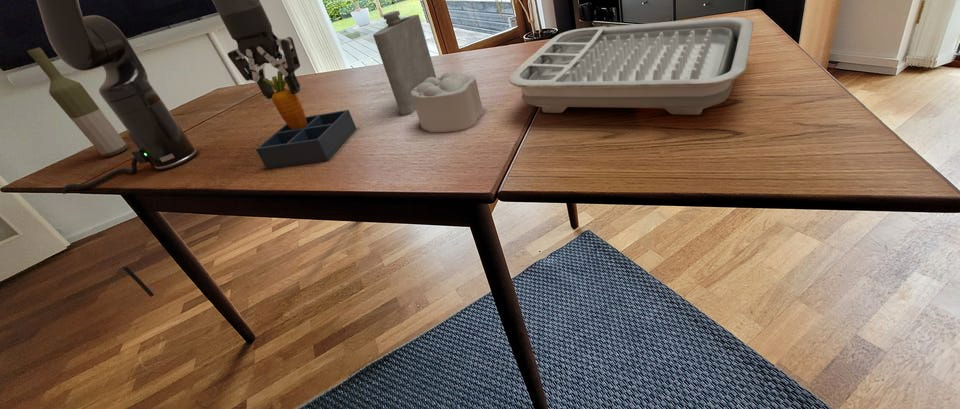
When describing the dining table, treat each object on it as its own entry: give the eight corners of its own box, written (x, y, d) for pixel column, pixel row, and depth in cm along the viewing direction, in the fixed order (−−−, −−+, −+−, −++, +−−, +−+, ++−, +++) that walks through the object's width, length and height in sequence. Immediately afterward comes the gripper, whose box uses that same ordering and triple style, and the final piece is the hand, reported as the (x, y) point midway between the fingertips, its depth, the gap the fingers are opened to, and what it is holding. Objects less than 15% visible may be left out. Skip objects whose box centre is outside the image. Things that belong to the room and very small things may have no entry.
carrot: (290, 145, 90) (255, 79, 81) (301, 135, 94) (268, 71, 85) (310, 142, 88) (276, 74, 80) (320, 132, 92) (289, 67, 84)
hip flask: (409, 114, 92) (377, 20, 81) (394, 115, 94) (362, 23, 83) (441, 87, 103) (417, 1, 92) (428, 88, 105) (403, 4, 94)
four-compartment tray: (266, 168, 84) (255, 149, 81) (301, 137, 95) (292, 119, 93) (328, 160, 80) (318, 139, 78) (356, 128, 92) (348, 109, 89)
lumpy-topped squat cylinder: (468, 130, 77) (457, 86, 72) (411, 133, 82) (397, 92, 78) (487, 107, 85) (478, 66, 80) (433, 111, 90) (421, 72, 85)
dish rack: (736, 131, 57) (745, 75, 52) (505, 124, 76) (496, 83, 71) (749, 55, 77) (756, 10, 73) (564, 64, 96) (561, 29, 92)
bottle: (120, 147, 124) (40, 47, 107) (135, 146, 121) (56, 42, 105) (97, 159, 118) (9, 55, 102) (113, 158, 116) (26, 51, 100)
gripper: (283, -4, 77) (322, 83, 86) (222, 12, 81) (265, 94, 90) (260, 4, 71) (304, 96, 80) (195, 20, 75) (244, 107, 84)
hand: (283, 94), depth 85 cm, fingers open, 5 cm apart
